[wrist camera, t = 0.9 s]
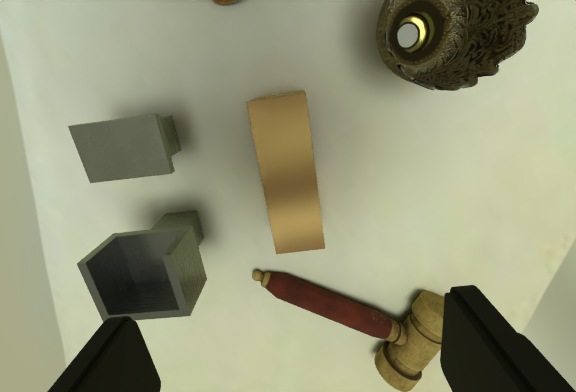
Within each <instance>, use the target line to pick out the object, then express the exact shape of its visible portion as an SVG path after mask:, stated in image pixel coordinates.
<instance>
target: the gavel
mask: <svg viewBox="0 0 576 392" xmlns="http://www.w3.org/2000/svg"><path fill="white" fill-rule="evenodd" d="M252 278H253V279H254V280H255V281H261V285H262V287H265V288H266V289H267V290H268V291H269V292H271V293H272V294H273V295H274V296H275V297H276V298H278V299H281V300H283V301H286V302H288V303H291V304H293V305H296V306H298V307H301V308H303V309H306V310H308V311H311V312H313V313H316V314H318V315H321V316H323V317H325V318H328V319H330V320H333V321H335V322H338V323H340V324H343V325H345V326H348V327H350V328H353V329H355V330H358V331H360V332H363V333H365V334H368V335H370V336H372V337H377V338H382V339H385V340H388V341H390V343H388V342H385V343H384V344H383V346H382V347H381V348H380V350H379V351H378V352H377V354H376V356H375V365H376V368H377V370H378V372H379V373H380V375H381V376H382V377H383V379H384V380H385V381H386V382H387V383H388V384H390V385H391V386H392V387H394V388H395V389H397V390H399V391H403V392H408V391H410V390H411V389H412V388H413V387H414V386H415V385H416V383H417V382H418V381H419V380H420V379H421V377H422V370H423V369H424V368H425V367H426V366H427V365H428V363H429V362H430V361H431V360H432V359H433V357H434V356H435V355H436V354H437V353H438V351H439V350H440V349H441V342H442V327H443V312H444V297H443V296H440V295H438V294H435V293H432V292H430V291H422V292H421V293H420V295H419V296H418V298H417V299H416V300H415V302H414V303H413V304H412V311H413V312H412V313H410V314H409V316H408V317H407V318H406V320H405V321H404V322H403V323H400V322H397V321H395V320H392V319H390V318H388V317H386V316H385V315H383V314H382V313H380V312H378V311H376V310H373V309H371V308H368V307H366V306H363V305H361V304H358V303H356V302H354V301H351V300H349V299H346V298H344V297H341V296H339V295H336V294H334V293H332V292H329V291H327V290H324V289H322V288H319V287H317V286H315V285H312V284H310V283H307V282H305V281H302V280H300V279H297V278H295V277H293V276H290V275H288V274H282V273H270V272H266V273H265V274H262V273H261V272H260V271H255V272H254V273H253V274H252Z"/></svg>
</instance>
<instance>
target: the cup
mask: <svg viewBox="0 0 576 392" xmlns="http://www.w3.org/2000/svg"><path fill="white" fill-rule="evenodd" d="M526 3H527V4H530V5H527V4H526ZM526 3H525V0H385V1H384V4H383V6H382V9H381V11H380V15H379V18H378V23H377V45H378V49H379V52H380V55H381V57H382V59H383V61H384V63H385V64H386V65H387V67H388V68H389V69H390V70H391V71H392V72H393V73H395V74H396V75H398V76H399V77H401V78H403V79H405V80H407V81H409V82H412V83H415V84H417V85H420V86H422V87H425V88H427V89H430V90H434V89H438V90H450V91H454V90H458V89H460V88H468V87H472V86H475V85H476V84H477V82H478V77H482V76H492V75H495V74H496V73H497V72H498V71H499V70H498V67H499V65H498V64H499V63H500V62H502V61H503V60H505V59H508V58H510V57H511V56H513V55H514V54H515V53H517V52H518V51H519V50H520V49H521V48H522V47H523V46H524V44H525V40H526V25H527V24H529V23H530V22H532V21H533V20H534V18H535V17H536V15H537V14H538V12H539V8H538V5H536V4H534V3H532V2H530V3H529V2H526ZM531 4H532V5H531ZM408 23H411V24H414V25H415V26H416V27H417V28H418V31H419V36H418V40H417V41H416V43H415V44H414V45H413V46H411V47H408V48H404V47H401V46H400V44H399V42H398V38H397V33H398V30H399V29H400V28H401V27H402V26H403V25H405V24H408ZM496 65H497V67H496Z"/></svg>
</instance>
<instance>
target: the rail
mask: <svg viewBox="0 0 576 392" xmlns="http://www.w3.org/2000/svg"><path fill="white" fill-rule="evenodd" d="M247 107H248V112H249V117H250V123H251V128H252V133H253V138H254V143H255V148H256V153H257V158H258V163H259V168H260V174H261V179H262V184H263V189H264V194H265V199H266V204H267V209H268V214H269V219H270V225H271V230H272V235H273V240H274V245H275V250H276V254H282V253H291V252H299V251H308V250H316V249H325V244H324V236H323V228H322V220H321V212H320V204H319V196H318V188H317V180H316V172H315V164H314V156H313V148H312V140H311V132H310V124H309V116H308V108H307V100H306V93H305V92H304V91H300V92H293V93H287V94H281V95H275V96H269V97H263V98H257V99H254V100H251V101H249V102H247Z"/></svg>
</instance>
